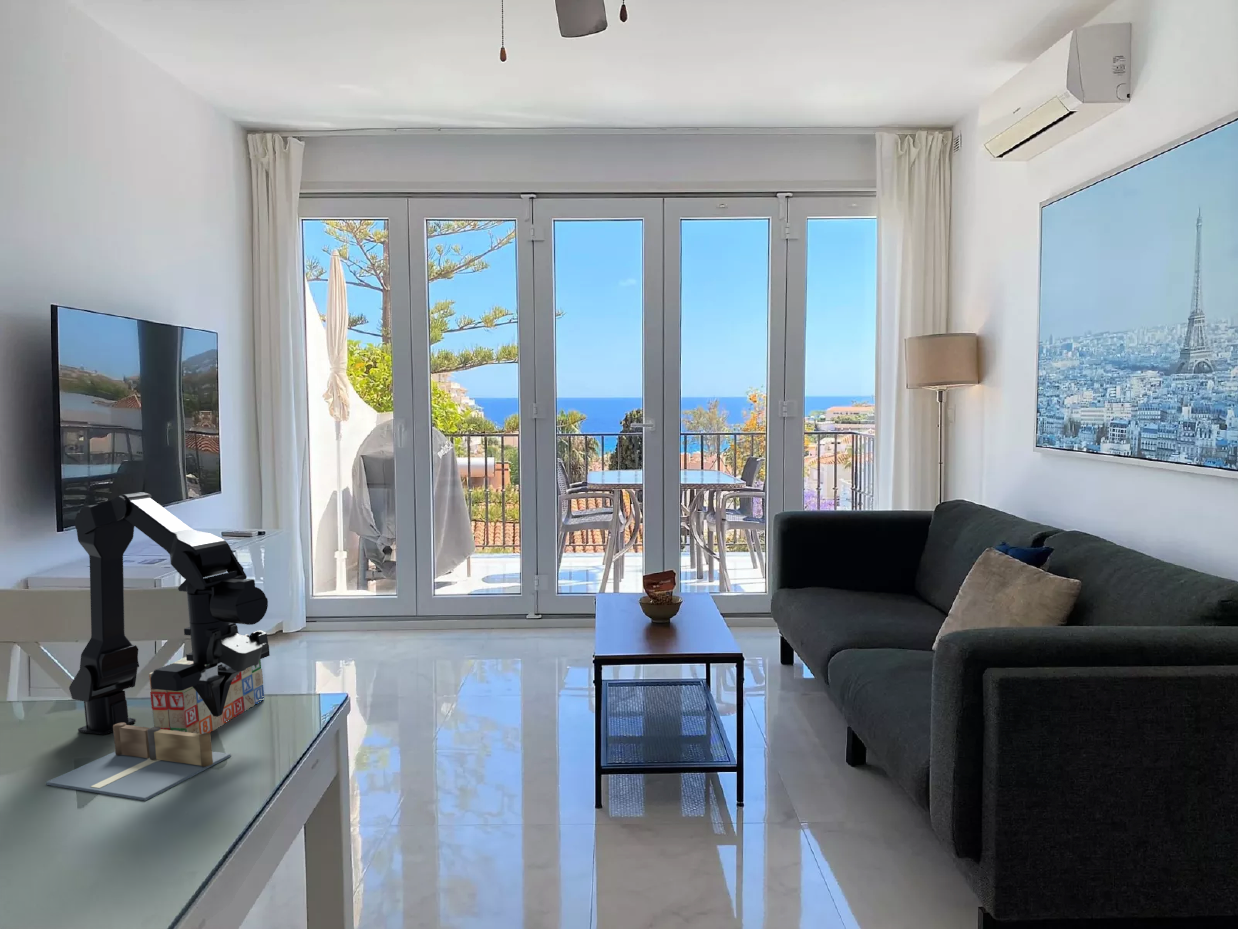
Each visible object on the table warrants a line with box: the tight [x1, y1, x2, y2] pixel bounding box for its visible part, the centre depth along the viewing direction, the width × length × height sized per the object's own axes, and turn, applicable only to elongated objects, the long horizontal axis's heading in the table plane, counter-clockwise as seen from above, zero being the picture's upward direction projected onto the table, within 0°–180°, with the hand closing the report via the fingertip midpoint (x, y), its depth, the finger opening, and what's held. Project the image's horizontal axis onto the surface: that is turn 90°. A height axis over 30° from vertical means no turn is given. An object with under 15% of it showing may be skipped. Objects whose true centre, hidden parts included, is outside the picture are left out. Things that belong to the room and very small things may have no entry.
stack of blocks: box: [148, 656, 265, 734], centre depth 151 cm, size 21×6×12 cm, turn 169°
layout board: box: [45, 751, 232, 802], centre depth 132 cm, size 20×16×1 cm
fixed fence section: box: [112, 723, 150, 758], centre depth 136 cm, size 7×2×5 cm, turn 69°
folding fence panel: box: [147, 726, 213, 767], centre depth 133 cm, size 12×2×5 cm, turn 69°
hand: (217, 715), depth 137 cm, fingers closed
